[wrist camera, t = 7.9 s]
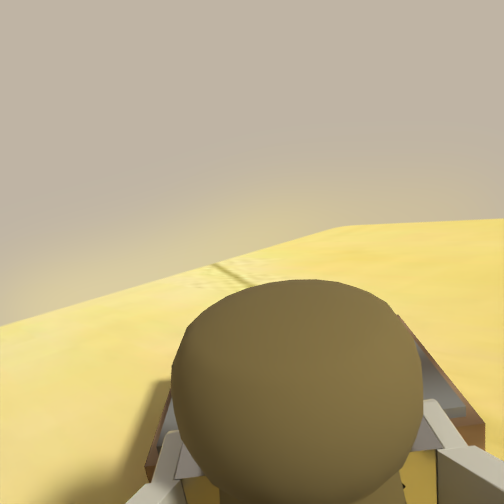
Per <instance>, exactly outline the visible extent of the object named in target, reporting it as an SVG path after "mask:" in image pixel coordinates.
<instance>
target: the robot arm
mask: <svg viewBox="0 0 504 504" xmlns="http://www.w3.org/2000/svg"><path fill="white" fill-rule="evenodd" d="M399 473H400V477H401V482H402V483H403V490H404V495H405V499H406V503H407V504H504V461H502V460H500V459H499V458H497V457H495V456H493V455H491V454H489V453H488V452H486V451H484V450H482V449H480V448H478V447H477V446H475V445H474V446H468V445H467V443H466V442H465V441H464V439H463V438H462V436H461V435H460V433H459V432H458V431H457V429H456V428H455V426H454V425H453V423H452V422H451V421H450V419H449V418H448V416H447V415H446V413H445V412H444V411H443V409H442V408H441V406H440V405H439V403H438V402H437V401H436V400H434V399H427V400H423V418H422V421H421V424H420V427H419V430H418V434H417V437H416V440H415V442H414V444H413V446H412V448H411V450H410V453H409V455H408V457H407V459H406V461H405V463H404V465H403V467H402V468H401V469H400V470H399ZM125 504H220V496H219V488H217V487H216V486H214V485H212V484H211V482H210V481H209V479H208V478H207V477H206V475H205V474H204V473H203V471H202V470H201V469H200V467H199V466H198V465H197V463H196V462H195V461H194V459H193V458H192V456H191V454H190V453H189V451H188V449H187V448H186V446H185V445H184V443H183V441H182V440H181V437H180V433H179V430H174V431H168V433H167V434H166V435H165V438H164V441H163V445H162V448H161V451H160V455H159V458H158V461H157V465H156V468H155V471H154V475H153V478H152V481H151V483H147V484H144V485H143V486H142V487H141V488H140V489H139V490H138V491H137V492H136V493H135V494H134V495H133V496H132V497H131V498H130V499H129V500H128V501H127V502H126V503H125Z"/></svg>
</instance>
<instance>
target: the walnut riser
mask: <svg viewBox="0 0 504 504" xmlns="http://www.w3.org/2000/svg"><path fill="white" fill-rule="evenodd" d="M397 317H398V318H399V319H400V321H401V322H402V323H403V325H404V326H405V327H406V329H407V330H408V332H409V333H410V334H411V336H412V337H413V339H414V342H415V345H416V348H417V351H418V354H419V357H420V360H421V366H422V379H423V400H427V399H434V400H436V401H437V402H438V403H439V405H440V406H441V408H442V409H443V411H444V412H445V413H446V415H447V416H448V418H449V419H450V421H451V422H452V423H453V425H454V426H455V428H456V429H457V431H458V432H459V433H460V435H461V436H462V438H463V439H464V441H465V442H466V443H467V445H468V446H474V445H475V446H477V447H478V448H480V449H482V450H484V451H485V423H484V421H483V420H482V419H481V418H480V416H479V415H478V414H477V413H476V411H475V410H474V409H473V408H472V406H471V405H470V404H469V403H468V401H467V400H466V399H465V398H464V396H463V395H462V394H461V393H460V391H459V390H458V389H457V388H456V386H455V385H454V384H453V383H452V381H451V380H450V379H449V378H448V376H447V375H446V374H445V373H444V371H443V370H442V369H441V368H440V366H439V365H438V364H437V363H436V361H435V360H434V359H433V358H432V356H431V355H430V354H429V353H428V351H427V350H426V349H425V348H424V346H423V345H422V344H421V343H420V341H419V340H418V339H417V338H416V336H415V335H414V334H413V333H412V331H411V330H410V329H409V328H408V326H407V325H406V324H405V323H404V321H403V320H402V319H401V318H400V316H399V315H397ZM174 430H179V429H178V426H177V422H176V418H175V414H174V408H173V401H172V395H171V389H170V392H169V395H168V398H167V401H166V404H165V407H164V410H163V413H162V416H161V419H160V422H159V425H158V427H157V430H156V433H155V436H154V439H153V442H152V445H151V448H150V451H149V454H148V457H147V460H146V463H145V466H144V467H145V470H146V474H147V477H148V481H149V483H151V481H152V478H153V475H154V471H155V468H156V465H157V461H158V458H159V455H160V451H161V448H162V445H163V441H164V438H165V435H166V434H167V433H168V431H174Z"/></svg>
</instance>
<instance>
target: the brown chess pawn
mask: <svg viewBox="0 0 504 504" xmlns="http://www.w3.org/2000/svg"><path fill="white" fill-rule="evenodd" d="M171 395H172V401H173V408H174V414H175V418H176V422H177V426H178V429H179V433H180V437H181V440H182V441H183V443H184V445H185V446H186V448H187V449H188V451H189V453H190V454H191V456H192V458H193V459H194V461H195V462H196V463H197V465H198V466H199V467H200V469H201V470H202V471H203V473H204V474H205V475H206V477H207V478H208V479H209V481H210V482H211V484H212V485H214V486H216V487H217V488H219V496H220V504H407V503H406V499H405V495H404V490H403V483H402V482H401V477H400V473H399V470H400V469H401V468H402V467H403V465H404V463H405V461H406V459H407V457H408V455H409V453H410V450H411V448H412V446H413V444H414V442H415V440H416V437H417V434H418V430H419V427H420V424H421V421H422V418H423V379H422V366H421V360H420V357H419V354H418V351H417V348H416V345H415V342H414V339H413V337H412V336H411V334H410V333H409V332H408V330H407V329H406V327H405V326H404V325H403V323H402V322H401V321H400V319H399V318H398V317H397V315H396V314H395V313H394V312H393V310H392V309H391V308H390V306H389V305H388V304H387V303H386V302H384V301H383V300H381V299H379V298H378V297H376V296H374V295H373V294H371V293H369V292H367V291H364V290H362V289H359V288H356V287H353V286H350V285H346V284H343V283H339V282H333V281H325V280H316V279H315V280H287V281H280V282H272V283H267V284H263V285H259V286H255V287H250V288H247V289H244V290H242V291H239V292H237V293H234V294H231V295H229V296H227V297H225V298H223V299H222V300H220V301H218V302H217V303H215V304H213V305H212V306H210V307H209V308H207V309H206V310H205V311H203V312H202V313H201V314H200V315H199V316H198V317H197V318H196V319H195V320H194V321H193V322H192V323H191V324H190V325H189V326H188V327H187V329H186V331H185V334H184V336H183V339H182V341H181V344H180V346H179V349H178V351H177V354H176V356H175V359H174V361H173V364H172V372H171Z"/></svg>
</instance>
